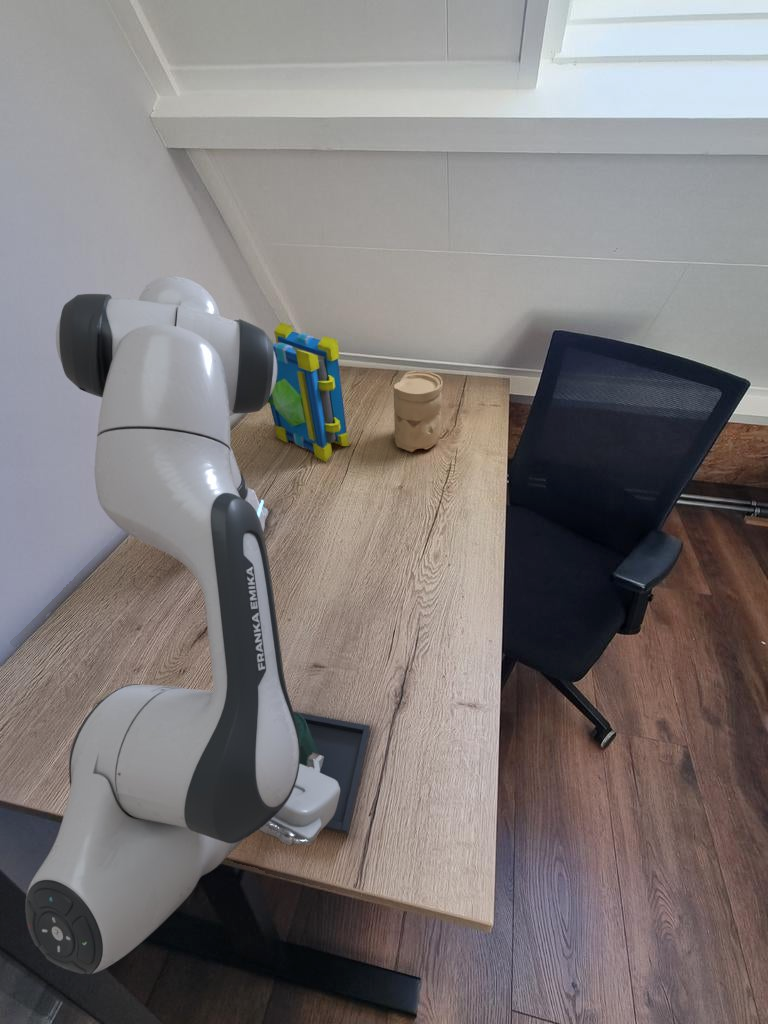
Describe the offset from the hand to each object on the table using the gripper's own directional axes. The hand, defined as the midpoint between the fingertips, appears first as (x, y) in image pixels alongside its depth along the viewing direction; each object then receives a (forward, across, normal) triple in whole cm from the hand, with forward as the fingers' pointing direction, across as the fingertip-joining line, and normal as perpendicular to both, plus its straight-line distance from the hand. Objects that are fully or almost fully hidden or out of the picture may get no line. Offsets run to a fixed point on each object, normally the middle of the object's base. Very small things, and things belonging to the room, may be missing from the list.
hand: (285, 745), depth 58 cm
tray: (+9, 0, +7) cm, 11 cm away
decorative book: (+62, +40, -46) cm, 87 cm away
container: (+69, +12, -53) cm, 88 cm away
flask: (+8, 0, +7) cm, 11 cm away
